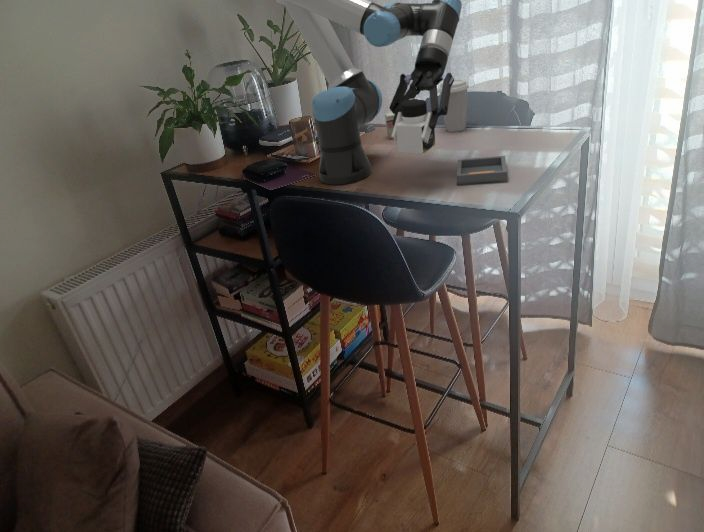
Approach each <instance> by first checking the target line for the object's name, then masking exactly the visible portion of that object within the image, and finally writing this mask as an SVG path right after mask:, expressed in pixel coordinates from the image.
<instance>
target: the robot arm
mask: <svg viewBox="0 0 704 532" xmlns="http://www.w3.org/2000/svg"><path fill="white" fill-rule="evenodd" d="M275 2H276V3H277V4H280V5H281V4H282V5H283V6H285V8H286V10H287V12H288V14H289V15H290V17H291V18H292V21H293V22H294V24H295V26H296V28H297V30H298V31H299V33H300V35H301V37H302V39H303V40H304V42H305V44H306V45H307V47H308V49H309V51H310V53H311V55H312V56H313V59H315V61H316V64H317V65H318V67H319V69H320V71H321V73H322V74H323V76H324V78H325V80H326V81H327V84H328V86H327V89H326V90H322V91H321V92H318V93H317V94H316V95H314V97H313V99H312V101H311V107H312V116H313V120H314V124H315V130H316V135H317V139H318V143H319V144H318V145H319V150H320V157H319V166H318V167H319V168H318V175H319V181H320V182H321V183H322V184H326V185H333V186H334V185H335V186H336V185H337V186H339V185H345V184H351V183H355V182H358V181H361V180H364V179H365V178H367V177H368V176H370V175H371V174H372V165H371V162H370V159H369V158H368V155H367V153H366V151H365V150H364V147H363V145H362V140H361V139H362V138H361V133H360V128H362V127H363V126H365V125H366V124H369V123H370V122H371V121H373V120H374V119H375V118H376V117H377V115H378V114H379V113H380V110H381V109H382V105H383V96H382V91H381V90H380V88H379V86H378V85H377V84H376V83H375V82H374V81H371V80H370V79H367V77H366V76H365V73H364V72H363V70H362V69H359V68H356V67H355V66H354V64H353V62H352V61H351V59H350V57H349V56H348V54H347V51H346V50H345V48H344V46H343V44H342V42H341V41H340V39H339V37H338V35H337V33H336V31H335V30H334V27H333V26H332V24H331V21H332V22H333V23H335V24H337V25H340V26H342V27H345V28H346V29H349V30H351V31H353V32H356V33H358V34H360V35H362V36H364V37H365V39H366V40H367V42H368V43H369V44H370V45H372V46H373V47H377V48H381V47H386V46H387V47H388V46H390V45H392V44H394V43H395V42H397V41H399V40H401V39H403V38H406V37H409V36H410V37H415V36H416V37H418V36H419V37H421V41H420V44H419V49H418V52H417V55H416V58H415V63H414V69H413V71H412V72H411V74H405V73H401V74H400V76H399V83H398V85H397V88H396V90H395V93H394V95H393V97H392V100H391V102H390V105H389V106H388V107H389V110H390V111H391V112H392V113H393V114H395V116H394V119H393V122H392V124H393V126H394V129H393V132H392V138H393V139H392V140H394V141H395V142H397V136H396V124H398V123H399V122H401V121H402V120H403V119H402V113H401V104H402V102H404V101H406V100H408V99H414V98H416V96H418V95H420V93H421V92H423V91H428V92H429V99H430V100H429V101H430V108H431V109H430V111H431V112H429V111H427V118H426V121H425V125H424V129H423V132H422V136H421V138H422V140H423V141H424V142H425V143H428V141H429V137H430V133H431V130H432V129H434V130H435V128H436V126H437V123H438V119H439V117H441V116H444V115H446V114H447V112H448V105H449V98H450V90H451V86H452V84H453V82H454V80H455V78H454V76H453V75H452V73H451V72H447V73H445V70H446V67H447V64H448V59H449V56H450V52H451V49H452V45H453V41H454V38H455V35H456V31H457V27H458V24H459V22H460V16H461V13H462V6H463V5H462V0H432V1H431V2H425V3H412V2H411V3H409V2H408V3H407V2H406V3H402V2H395V3H393V2H392V3H387V4H385V5H384V6H383V5H380V4H378V3H376V2H374V1H371V0H275ZM442 82H443V86H442V93H441V95H440V100H439V99H438V98H439V97H438V93H439V92H438V85H440V84H441V83H442ZM408 86H409V88H408ZM439 101H440V102H439Z"/></svg>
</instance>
